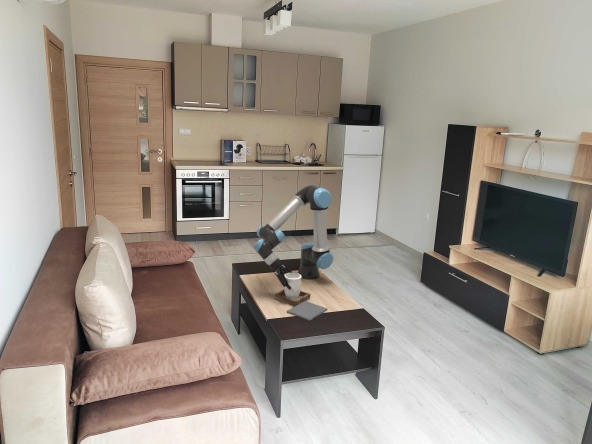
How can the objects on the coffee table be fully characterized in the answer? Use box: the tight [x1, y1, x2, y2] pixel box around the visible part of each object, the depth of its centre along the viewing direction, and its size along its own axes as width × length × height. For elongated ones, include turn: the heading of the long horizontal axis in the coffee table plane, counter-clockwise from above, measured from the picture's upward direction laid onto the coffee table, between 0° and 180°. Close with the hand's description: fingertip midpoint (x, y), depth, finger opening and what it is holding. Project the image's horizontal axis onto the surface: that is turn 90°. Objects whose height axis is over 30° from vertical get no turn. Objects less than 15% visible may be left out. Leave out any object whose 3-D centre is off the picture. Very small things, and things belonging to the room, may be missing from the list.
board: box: [286, 300, 328, 322], centre depth 261 cm, size 18×16×1 cm
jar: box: [283, 272, 302, 301], centre depth 275 cm, size 11×10×15 cm
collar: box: [273, 288, 311, 307], centre depth 277 cm, size 15×16×3 cm
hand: (297, 289), depth 275 cm, fingers closed on jar, 10 cm apart
